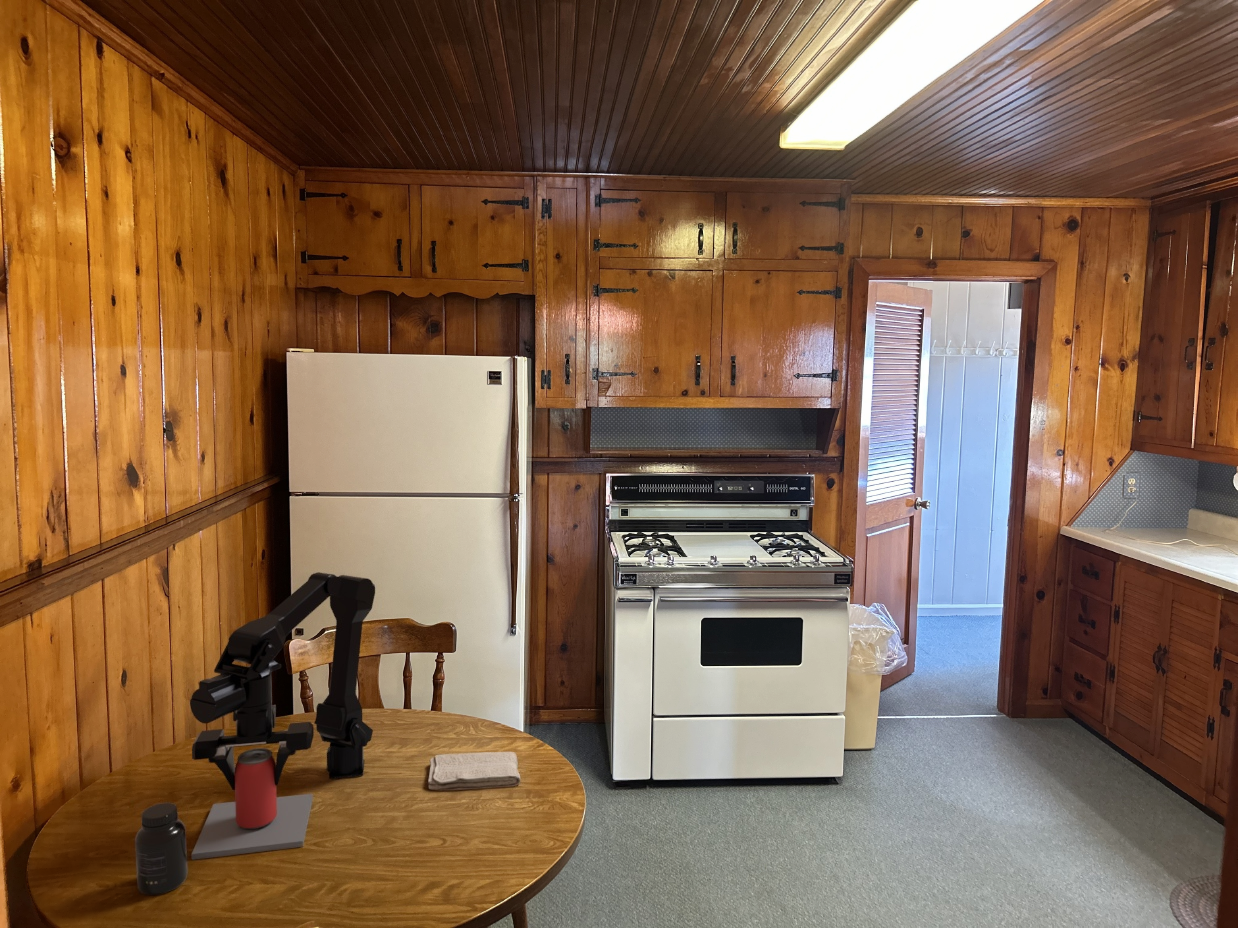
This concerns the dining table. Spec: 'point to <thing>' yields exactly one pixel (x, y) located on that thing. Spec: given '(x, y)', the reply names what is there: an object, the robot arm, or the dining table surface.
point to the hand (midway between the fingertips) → (256, 786)
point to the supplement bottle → (161, 850)
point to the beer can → (255, 788)
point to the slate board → (232, 839)
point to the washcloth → (473, 771)
